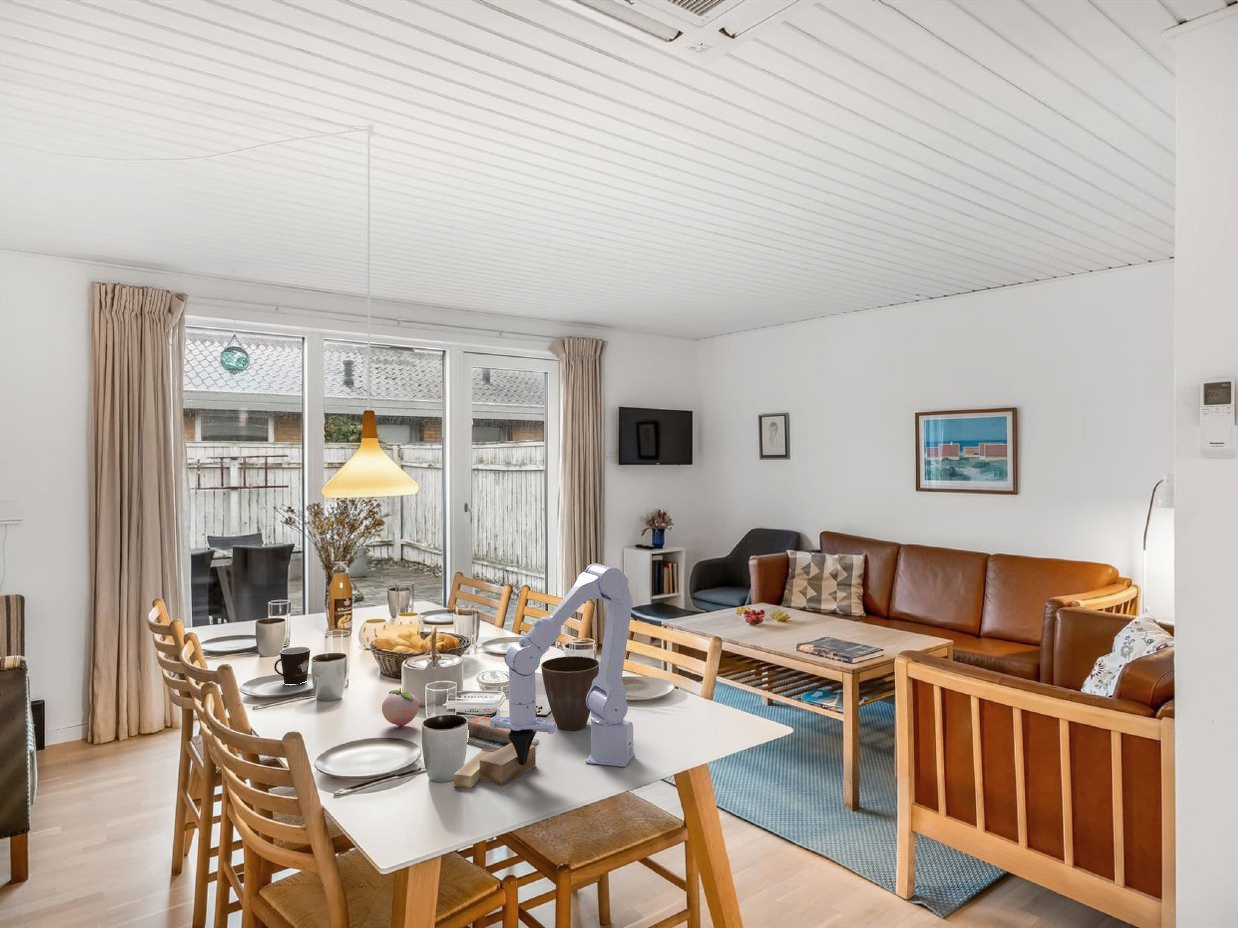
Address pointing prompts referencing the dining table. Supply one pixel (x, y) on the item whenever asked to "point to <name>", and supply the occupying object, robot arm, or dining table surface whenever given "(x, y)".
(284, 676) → the coffee mug
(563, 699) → the plant pot
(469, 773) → the light wooden bar
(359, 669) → the dining table surface
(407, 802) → the dining table surface
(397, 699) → the decorative fruit
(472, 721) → the reddish brown brick
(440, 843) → the dining table surface
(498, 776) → the block
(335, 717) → the dining table surface
